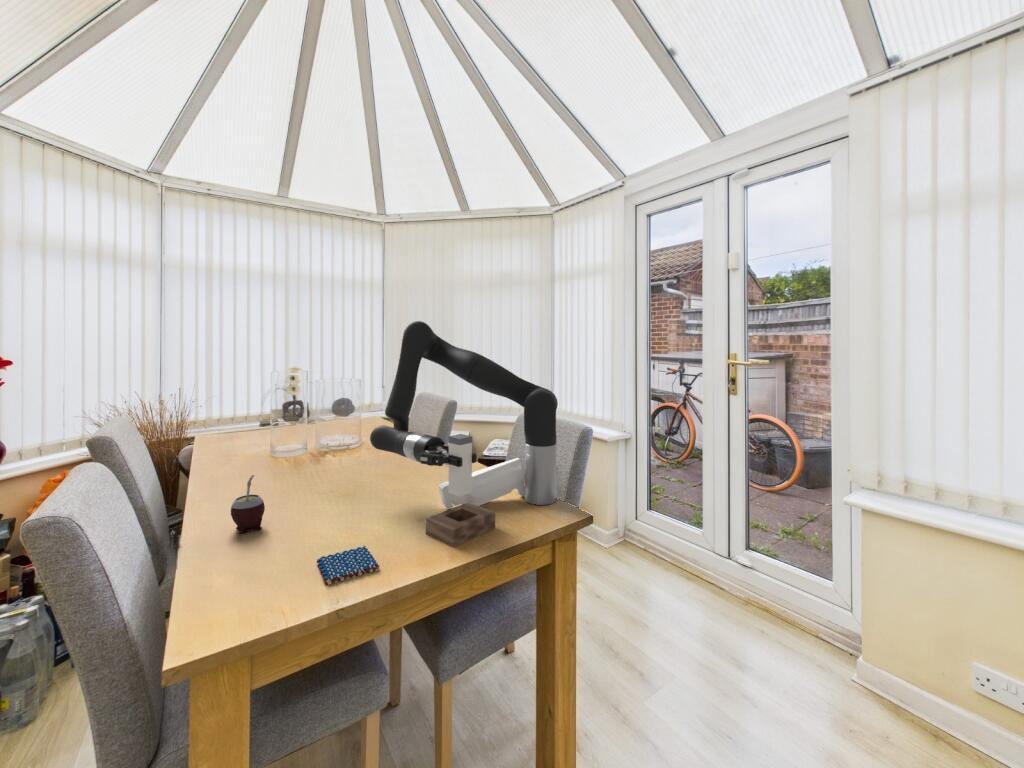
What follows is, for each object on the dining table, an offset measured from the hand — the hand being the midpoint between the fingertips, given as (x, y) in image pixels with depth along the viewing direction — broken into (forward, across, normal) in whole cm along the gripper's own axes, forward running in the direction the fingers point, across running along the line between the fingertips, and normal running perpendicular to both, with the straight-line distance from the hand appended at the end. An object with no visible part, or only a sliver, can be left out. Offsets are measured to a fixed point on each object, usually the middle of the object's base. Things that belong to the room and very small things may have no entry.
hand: (468, 460), depth 100 cm
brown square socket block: (-2, 0, +18) cm, 18 cm away
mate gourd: (-42, -34, +19) cm, 58 cm away
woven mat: (-7, -27, +19) cm, 34 cm away
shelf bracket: (-11, +18, +19) cm, 28 cm away
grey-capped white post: (-3, 0, +8) cm, 9 cm away
